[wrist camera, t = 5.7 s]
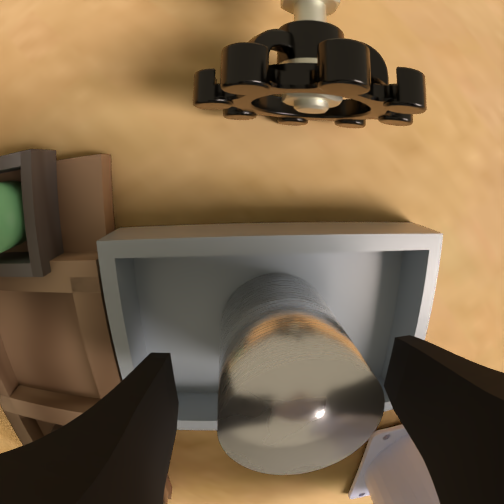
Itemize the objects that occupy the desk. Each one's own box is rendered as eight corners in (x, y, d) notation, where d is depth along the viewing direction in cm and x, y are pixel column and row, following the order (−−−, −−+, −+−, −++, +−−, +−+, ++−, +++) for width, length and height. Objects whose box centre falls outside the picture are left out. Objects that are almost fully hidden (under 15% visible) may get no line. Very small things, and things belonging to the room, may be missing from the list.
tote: (411, 222, 13) (443, 233, 10) (385, 378, 15) (405, 406, 12) (119, 227, 12) (96, 241, 10) (146, 394, 14) (136, 426, 12)
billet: (330, 270, 12) (400, 348, 7) (321, 362, 14) (365, 462, 8) (218, 274, 12) (210, 365, 6) (223, 369, 13) (223, 479, 8)
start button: (34, 176, 10) (7, 179, 8) (40, 243, 10) (15, 255, 9) (-10, 184, 10) (-37, 189, 8) (-3, 245, 10) (-29, 256, 9)
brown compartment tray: (110, 144, 11) (-6, 129, 4) (172, 487, 16) (163, 573, 9) (-30, 172, 10) (-135, 189, 4) (63, 470, 16) (36, 540, 9)
